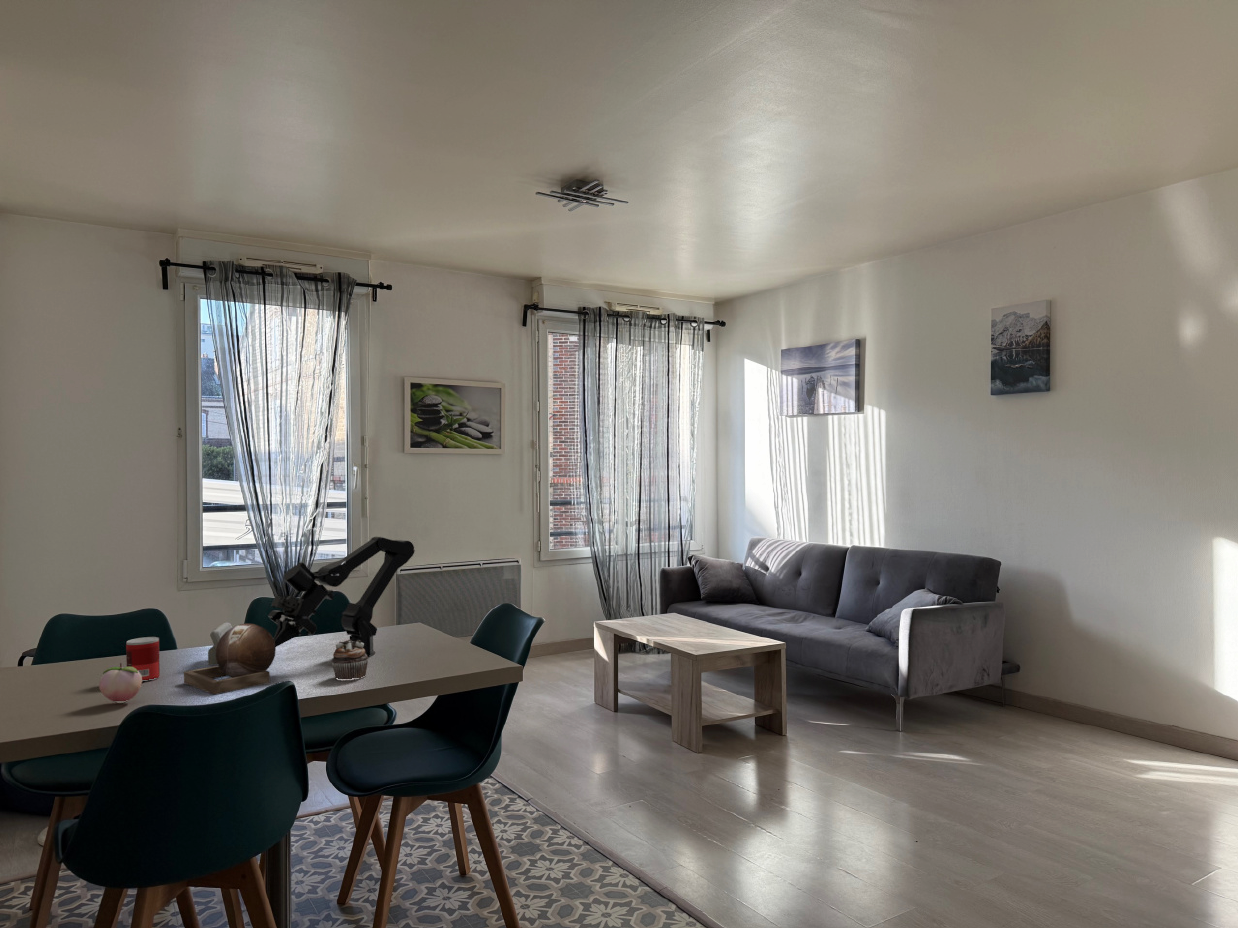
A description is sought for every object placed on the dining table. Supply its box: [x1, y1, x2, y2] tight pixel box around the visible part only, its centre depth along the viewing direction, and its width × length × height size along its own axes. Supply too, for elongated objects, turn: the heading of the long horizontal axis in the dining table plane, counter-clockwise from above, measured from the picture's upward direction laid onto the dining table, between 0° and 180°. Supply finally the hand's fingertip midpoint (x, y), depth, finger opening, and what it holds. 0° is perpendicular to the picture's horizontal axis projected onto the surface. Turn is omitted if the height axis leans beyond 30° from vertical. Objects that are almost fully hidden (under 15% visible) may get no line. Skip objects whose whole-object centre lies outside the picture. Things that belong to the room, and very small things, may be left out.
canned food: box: [125, 636, 161, 680], centre depth 237 cm, size 8×8×11 cm
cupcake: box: [331, 639, 370, 679], centre depth 234 cm, size 10×10×10 cm
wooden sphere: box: [216, 623, 277, 678], centre depth 235 cm, size 15×15×15 cm
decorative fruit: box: [98, 662, 143, 702], centre depth 212 cm, size 9×8×10 cm
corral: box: [183, 665, 271, 695], centre depth 231 cm, size 14×19×3 cm
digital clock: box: [207, 622, 233, 666], centre depth 258 cm, size 16×9×11 cm, turn 0°
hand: (272, 646), depth 240 cm, fingers closed
